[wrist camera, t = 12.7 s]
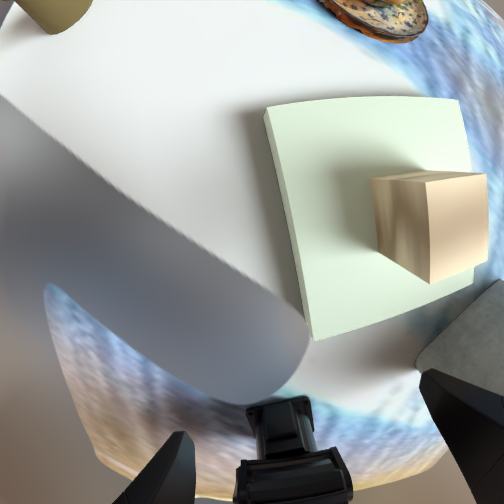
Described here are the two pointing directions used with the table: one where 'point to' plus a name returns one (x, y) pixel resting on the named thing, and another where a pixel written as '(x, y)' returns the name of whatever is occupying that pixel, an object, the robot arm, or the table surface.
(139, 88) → the table surface
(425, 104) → the plinth
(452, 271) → the birch block
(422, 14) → the burger
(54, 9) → the cork
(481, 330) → the hip flask
